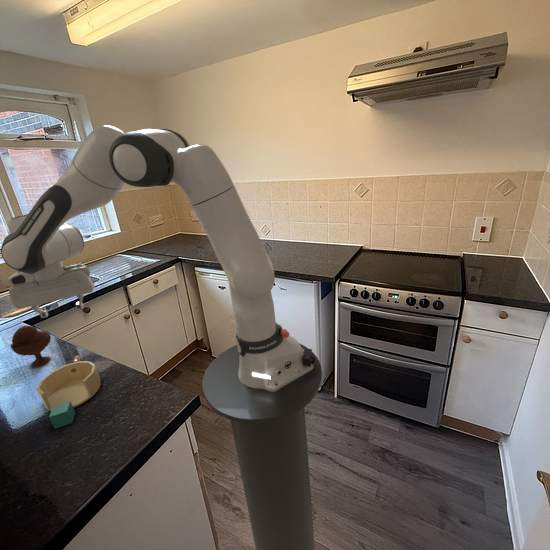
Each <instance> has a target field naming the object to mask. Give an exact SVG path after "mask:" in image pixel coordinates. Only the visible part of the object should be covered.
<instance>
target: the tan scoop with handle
mask: <svg viewBox="0 0 550 550" xmlns="http://www.w3.org/2000/svg"><path fill="white" fill-rule="evenodd" d="M81 359H82V357H81V356H80V355H75V356H74V357H73V359H72V362H71V363H68V364H64V365H63V366H61V367H59V368H57V369H55V370H53V371H51V372H49V373H48V374H47V375H46V376H44V378H42V379H41V380H40V381H39V383H38V386H37V388H36V392H37V394H38V395H39V398H40V400H41V402H42V404H43V406H44V407H45V408H46V410H48V411H50V412H51V411H52V408H53V406H56V405H59V404H62V403H65V402H68V401H71V404H72V406H73V408H74V409H75V408H77V407H78V406H80V405H82V404H84V403H85V402H87V401H88V400H90V399H91V398H92V397H94V396H95V395H96V393H97V392H98V391H99V389H100V387H101V377H100V374H99V371H98V369H97V367H96V364H94V363H93V362H92V361H91V360H90V361H89V360H82V361H81Z"/></svg>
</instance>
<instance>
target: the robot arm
mask: <svg viewBox="0 0 550 550" xmlns="http://www.w3.org/2000/svg"><path fill="white" fill-rule="evenodd" d="M170 183H173V184H175V185H176V186H178V187H179V188H180V189H181V190H182V191H183V193H184V196H185V197H186V199H187V201H188V203H189V204H190V207H191V208H192V210H193V212H194V214H195V216H196V218H197V220H198V221H199V223H200V225H201V227H202V229H203V230H204V233H205V235H206V236H207V238H208V240H209V243H210V245H211V247H212V249H213V251H214V254H215V255H216V258H217V260H218V263H219V264H220V266H221V268H222V270H223V272H224V274H225V276H226V278H227V280H228V281H227V282H228V287H229V292H230V300H231V305H232V311H233V315H234V317H233V318H234V323H235V330H236V331H235V342H236V345H237V348H238V352H239V354H240V363H239V371H238V377H239V380H240V381H241V382H242V383H243V384H244V385H246V386H248V387H251V388H258V389H265V390H267V391H270V392H275V391H277V390H279V389H280V388H282V387H284V386H285V385H287V384H289V383H290V382H292V381H294V380H295V379H297V378H299V377H301V376H302V375H304V374H306V373H307V372H309V371H311V370H312V369H313V363H315V358H314V357H313V356H312V352H313V349H312V348H308V349H303V348H302V347H301V345H300V344H301V343H300V344H299V342H298V340H297V339H296V338H294V337H293V336H292V335H290V332H289V331H288V330H287V329H285V328H283V327H282V325H281V324H278V322H276V313H275V303H274V299H273V295H272V289H273V287H274V285H275V280H276V279H275V267H274V264H273V262H272V261H271V259H270V256H269V254H268V252H267V250H266V247H265V245H264V244H263V242H262V240H261V238H260V235H259V234H258V232H257V230H256V228H255V226H254V224H253V222H252V220H251V218H250V215H249V214H248V212H247V210H246V207H245V205H244V202H243V201H242V199H241V197H240V194H239V192H238V190H237V188H236V186H235V183H234V181H233V180H232V178H231V175H230V174H229V172H228V170H227V169H226V167H225V165H224V163H223V162H222V160H221V159H220V158H219V156H218V155H217V153H216V152H215V150H214V149H213V148H212V147H210V146H209V145H206V144H202V143H201V144H200V143H199V144H198V143H197V144H192V145H190V144H189V142H188V140H187V139H186V138H185V137H184V136H183V135H182V134H181V133H179V132H177V131H175V130H172V129H168V128H160V129H155V128H143V129H139V130H135V131H127V132H124V131H123V130H122V129H119V128H118V127H116V126H112V125H109V124H101V125H98V126H97V127H95V128H93V129H92V131H91V132H90V133H89V134H88V135H87V136H86V137H85V138H84V140H83V141H82V142H81V144H80V146H79V147H78V149H77V150H76V152H75V154H74V156H73V157H72V160H71V161H70V162H69V164H68V166H67V167H66V169H65V170H64V171H63V172H62V174H61V175H60V176H59V177H58V179H57V180H55V182H54V183H53V184H52V185H51V186H50V187H48V188H47V189H46V190H45V191H44V193H42V194H41V196H39V198H38V200H37V201H36V202H35V204H34V205H33V206H32V208H31V209H30V210H29V212H28V213H26V214H25V213H24V214H22V215H17V216H14V217H12V218H10V219H9V221H8V222H7V226H8V231H9V234H8V235H6V236H5V238H4V239H3V241H2V243H1V248H0V255H1V258H2V260H3V262H4V263H5V264H6V265H7V266H8V267H9V268H11V269H12V270H15V271H16V272H14V273H13V274H11V275H10V276H9V277H8V278H7V279H6V284H7V285H8V286H9V289H8V294H9V298H10V301H11V303H12V306H13V307H14V308H15V309H18V310H21V309H25V308H30V307H31V310H32V311H34V312H35V313H37V314H39V316H40V318H41V319H44V318H47V317H48V316H49V312H48V310H47V309H42V308H41V307H40V305H43V304H47V303H52V302H55V301H61V300H64V299H65V300H66V299H69V298H73V297H77V299H79V301H77V302H76V303H75V307H76V309H77V310H81V309H84V302H83V301H84V297H85V295H86V294H87V295H88V294H91V293H93V292H94V290H95V283H94V280H93V279H92V277H91V271H90V268H89V266H88V265H86V264H82V263H76V264H71V265H64V261H66V260H68V259H71V258H73V257H76V256H77V255H79V254H81V253H82V252H83V250H84V247H85V240H84V236H83V235H82V233H81V231H80V230H79V229H78V228H77V227H76V226H74V225H73V224H70V223H68V221H69V220H71V219H73V218H75V217H77V216H80V215H83V214H86V213H88V212H91V211H93V210H96V209H100V208H102V207H104V206H106V205H108V204H110V202H111V201H113V199H114V198H115V197H117V195H118V194H119V193H120V192H121V190H122V189H123V187H124V185H125V184H126V185H129V186H131V187H134V188H135V187H136V188H154V187H166V186H169V184H170ZM276 385H277V386H276Z"/></svg>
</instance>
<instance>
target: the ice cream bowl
mask: <svg viewBox="0 0 550 550" xmlns="http://www.w3.org/2000/svg"><path fill="white" fill-rule="evenodd" d="M51 340H52V337H51V333H50V332H49V331H48V330H39V329H38V328H37V327H35V326H33V325H23V326H21V327H19V328H18V329H17V330H16V331H15V332H14V334H12V339H11V344H10V348H11V350H12V351H13V352H14V354H16V355H19V356H34V357H35V359H34V361H32V363H31V367H32V368H39V367H42V366H44V365H46V364H48V363H49V362H50V361H51V358H50V356H43V355H42V353H41V352H44V350H45V349H46V347H48V346H49V344H50V343H51Z"/></svg>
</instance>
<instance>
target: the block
mask: <svg viewBox="0 0 550 550" xmlns="http://www.w3.org/2000/svg"><path fill="white" fill-rule="evenodd" d="M75 410H76V409H75V407H74V408H73V406H72V404H71V401H68V402H65V403H62V404H59V405H56V406H53V408H52V411H50V414H49V416H48V418H49V420H50V422H51V424H52V427H53V428H54V429H59V428H61V427H65V426H68V425H70V424H73V422H74V419H75V414H76V411H75Z"/></svg>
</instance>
